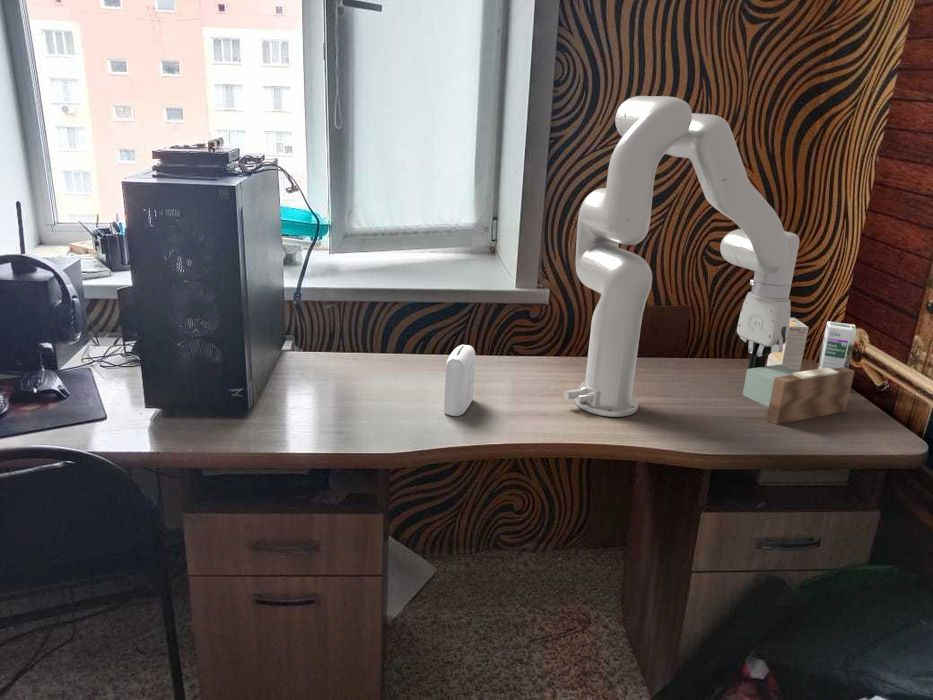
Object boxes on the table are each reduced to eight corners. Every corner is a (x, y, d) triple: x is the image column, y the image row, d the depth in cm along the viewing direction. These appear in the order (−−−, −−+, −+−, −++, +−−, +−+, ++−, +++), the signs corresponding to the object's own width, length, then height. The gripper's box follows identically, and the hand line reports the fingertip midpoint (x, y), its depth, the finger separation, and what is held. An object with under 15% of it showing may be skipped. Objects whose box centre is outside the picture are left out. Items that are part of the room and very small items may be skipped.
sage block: (786, 416, 151) (792, 388, 149) (742, 394, 161) (747, 369, 160) (820, 409, 156) (826, 383, 154) (775, 389, 166) (780, 364, 164)
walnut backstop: (776, 424, 147) (785, 380, 144) (766, 419, 149) (774, 375, 146) (845, 411, 155) (855, 369, 152) (834, 406, 157) (844, 365, 154)
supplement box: (798, 381, 172) (810, 327, 167) (778, 380, 172) (788, 325, 167) (785, 369, 179) (795, 317, 175) (765, 368, 179) (775, 315, 175)
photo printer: (454, 396, 152) (457, 338, 148) (475, 399, 151) (478, 341, 147) (440, 415, 142) (443, 354, 138) (462, 418, 141) (466, 357, 138)
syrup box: (815, 387, 168) (828, 326, 164) (814, 379, 174) (827, 319, 169) (843, 392, 166) (857, 330, 162) (841, 383, 172) (855, 323, 167)
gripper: (731, 283, 162) (717, 362, 168) (787, 300, 150) (771, 385, 155) (755, 281, 165) (741, 358, 171) (812, 297, 153) (795, 380, 159)
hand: (755, 371), depth 163 cm, fingers closed
